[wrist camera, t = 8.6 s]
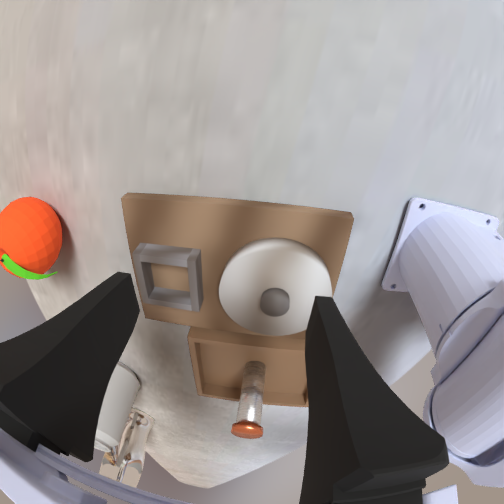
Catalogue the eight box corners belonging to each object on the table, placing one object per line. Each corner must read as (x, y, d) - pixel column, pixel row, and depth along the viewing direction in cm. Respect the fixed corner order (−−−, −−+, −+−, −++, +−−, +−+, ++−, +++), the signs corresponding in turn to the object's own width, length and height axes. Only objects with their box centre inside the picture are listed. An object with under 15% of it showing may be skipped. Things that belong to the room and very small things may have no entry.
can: (135, 362, 32) (103, 443, 22) (146, 390, 36) (122, 460, 26) (87, 347, 32) (51, 419, 22) (103, 377, 36) (75, 441, 26)
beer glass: (157, 416, 42) (135, 490, 29) (156, 426, 45) (136, 492, 33) (120, 401, 41) (94, 473, 28) (122, 414, 45) (100, 477, 32)
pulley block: (351, 212, 19) (362, 237, 16) (317, 332, 25) (319, 361, 22) (127, 192, 20) (103, 212, 17) (149, 310, 26) (136, 336, 23)
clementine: (92, 213, 21) (40, 262, 15) (79, 267, 24) (40, 316, 18) (30, 171, 19) (-25, 207, 13) (25, 228, 23) (-19, 267, 17)
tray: (333, 336, 25) (335, 352, 24) (309, 393, 32) (309, 407, 30) (192, 321, 26) (187, 336, 24) (201, 381, 32) (197, 394, 31)
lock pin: (263, 357, 27) (256, 427, 21) (272, 371, 29) (266, 438, 22) (237, 360, 28) (226, 428, 22) (248, 375, 29) (238, 438, 23)
